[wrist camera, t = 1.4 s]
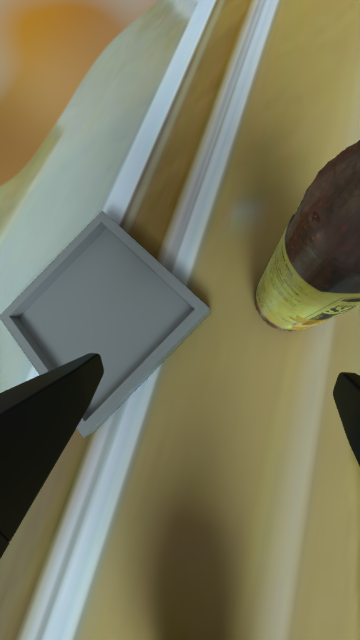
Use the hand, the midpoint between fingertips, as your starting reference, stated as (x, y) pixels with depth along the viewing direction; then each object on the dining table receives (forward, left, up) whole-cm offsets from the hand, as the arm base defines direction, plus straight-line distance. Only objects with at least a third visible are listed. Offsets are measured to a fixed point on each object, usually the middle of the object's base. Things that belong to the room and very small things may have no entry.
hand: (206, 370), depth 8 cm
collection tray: (+12, +5, -13) cm, 19 cm away
